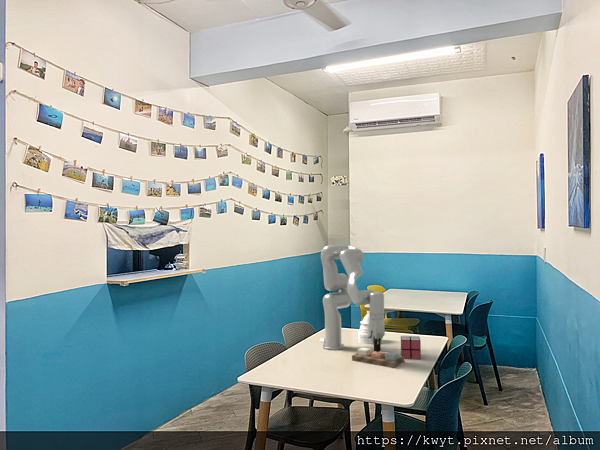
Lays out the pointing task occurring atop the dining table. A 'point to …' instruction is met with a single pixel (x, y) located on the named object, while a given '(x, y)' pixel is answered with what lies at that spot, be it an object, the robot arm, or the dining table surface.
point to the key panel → (378, 360)
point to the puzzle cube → (410, 347)
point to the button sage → (391, 356)
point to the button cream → (364, 351)
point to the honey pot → (364, 330)
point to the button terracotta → (377, 355)
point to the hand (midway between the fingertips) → (377, 351)
